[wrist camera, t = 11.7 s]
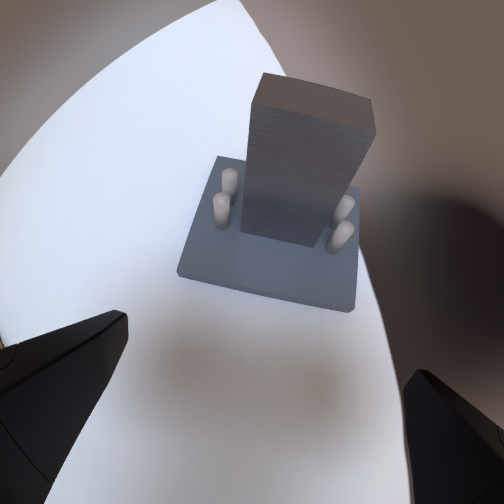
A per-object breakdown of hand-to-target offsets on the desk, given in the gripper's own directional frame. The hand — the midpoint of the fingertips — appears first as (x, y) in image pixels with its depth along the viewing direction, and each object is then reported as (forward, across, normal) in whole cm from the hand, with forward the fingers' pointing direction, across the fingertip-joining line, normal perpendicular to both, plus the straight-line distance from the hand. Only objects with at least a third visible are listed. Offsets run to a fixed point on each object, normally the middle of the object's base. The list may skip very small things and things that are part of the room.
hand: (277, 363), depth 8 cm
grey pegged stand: (+18, 0, +1) cm, 18 cm away
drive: (+17, 0, 0) cm, 17 cm away
